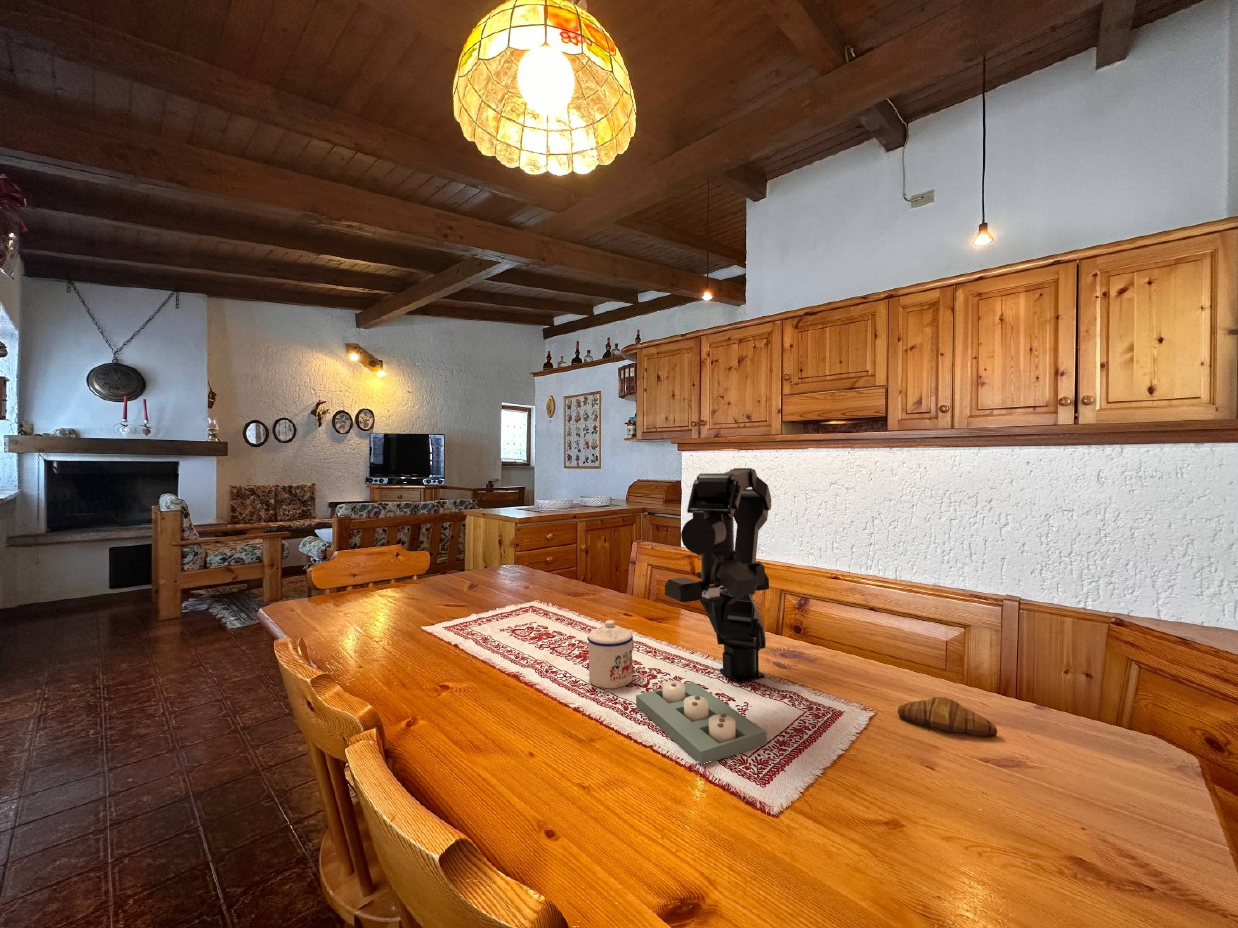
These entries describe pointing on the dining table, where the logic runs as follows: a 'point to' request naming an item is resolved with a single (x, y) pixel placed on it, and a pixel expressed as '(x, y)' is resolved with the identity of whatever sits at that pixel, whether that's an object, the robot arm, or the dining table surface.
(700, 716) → the button two
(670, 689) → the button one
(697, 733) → the board
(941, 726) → the croissant
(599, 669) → the teacup with lid
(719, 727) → the button three
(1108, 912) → the dining table surface
